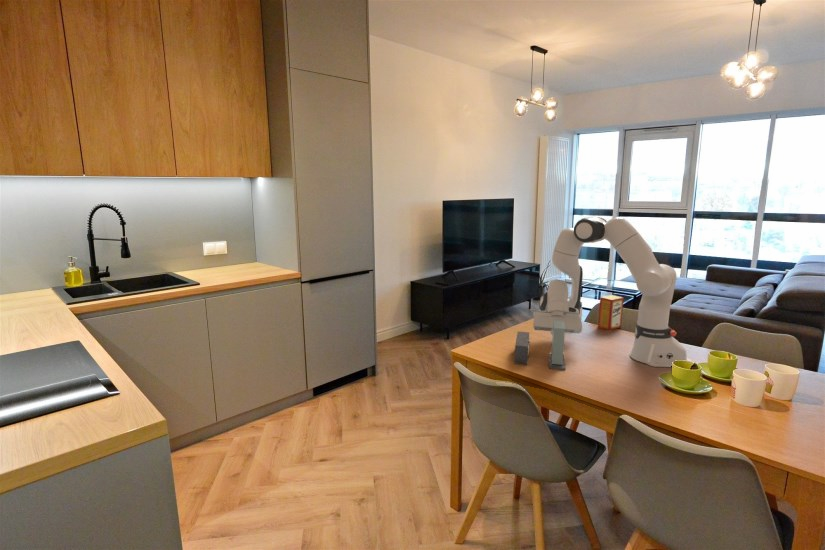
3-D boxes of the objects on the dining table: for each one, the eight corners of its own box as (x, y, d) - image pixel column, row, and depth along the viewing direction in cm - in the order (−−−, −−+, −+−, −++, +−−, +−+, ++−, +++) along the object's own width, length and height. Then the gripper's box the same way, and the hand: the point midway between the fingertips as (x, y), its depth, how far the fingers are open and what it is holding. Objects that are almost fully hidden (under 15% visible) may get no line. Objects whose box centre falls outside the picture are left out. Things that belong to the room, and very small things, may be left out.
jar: (575, 328, 223) (577, 305, 221) (560, 324, 229) (561, 302, 226) (583, 324, 229) (585, 301, 227) (568, 320, 235) (570, 299, 233)
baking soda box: (609, 324, 229) (611, 294, 226) (621, 327, 224) (623, 296, 221) (597, 327, 224) (600, 296, 221) (609, 330, 219) (612, 299, 216)
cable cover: (561, 356, 184) (563, 321, 181) (562, 364, 175) (564, 328, 172) (551, 355, 185) (553, 320, 182) (551, 363, 176) (553, 327, 173)
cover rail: (563, 357, 186) (563, 354, 185) (565, 370, 172) (565, 367, 172) (548, 355, 187) (548, 353, 187) (549, 368, 174) (549, 366, 174)
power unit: (529, 349, 194) (530, 332, 193) (527, 365, 177) (528, 346, 176) (516, 348, 196) (517, 331, 194) (514, 364, 179) (515, 345, 177)
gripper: (533, 306, 195) (531, 334, 188) (582, 309, 190) (582, 338, 182) (533, 313, 200) (531, 340, 193) (581, 316, 195) (581, 345, 187)
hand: (556, 339), depth 188 cm, fingers closed
